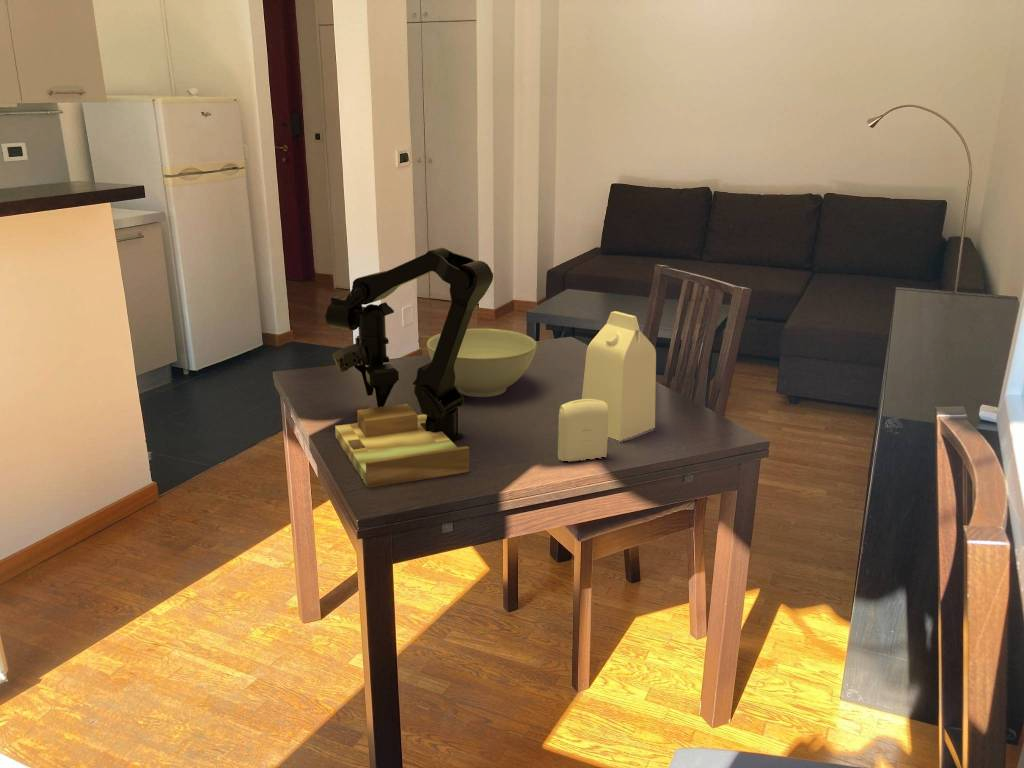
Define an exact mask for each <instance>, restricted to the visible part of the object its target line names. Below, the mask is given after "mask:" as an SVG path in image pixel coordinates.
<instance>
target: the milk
mask: <svg viewBox="0 0 1024 768" xmlns="http://www.w3.org/2000/svg"><path fill="white" fill-rule="evenodd" d="M656 372H657V350H656V348H655V346H654V345H653V343H652V342H651V341H650V340H649V339H648V338H647V336H645V334H643V332H642V331H641V330H640V326H639V323H638V318H637V316H636V315H633V314H628V313H626V312H621V311H616V310H614V311H611V312H610V313H609V316H608V319H607V321H606V323H605V325H604V326H603V327H602V328H601V329H600V330H599V332H598V333H597V334H596V335H595V336H594V337H593V339H592V340H591V341H590V343H589V344H588V346H587V349H586V353H585V365H584V376H583V384H582V394H581V399H595V400H601V401H604V402H605V403H606V404H607V406H608V412H609V415H608V437H610V438H613V439H616V440H619V441H621V440H623V439H626V438H628V437H632V436H634V435H637V434H639V433H642V432H644V431H647V430H649V429H652V428H655V429H656V388H657V387H656V381H657V376H656V375H657V373H656Z"/></svg>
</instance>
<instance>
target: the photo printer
mask: <svg viewBox="0 0 1024 768" xmlns="http://www.w3.org/2000/svg"><path fill="white" fill-rule="evenodd" d="M558 409H559V410H558V429H557V430H558V431H557V432H558V433H557V434H558V435H557V439H558V440H557V459H558V460H559V461H560V460H561V461H560V462H562V461H568V462H576V461H577V462H578V461H579V460H580V461H587V460H586V459H590V460H596V459H595V458H599V459H602V458H601V457H605V458H607V454H608V440H609V439H608V415H609V412H608V406H607V404H606V403H605V402H604V401H601V400H595V399H582V398H581V399H575V400H572V401H571V400H570V401H567V402H566V403H563V404H561V405H560V406H559V408H558Z"/></svg>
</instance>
